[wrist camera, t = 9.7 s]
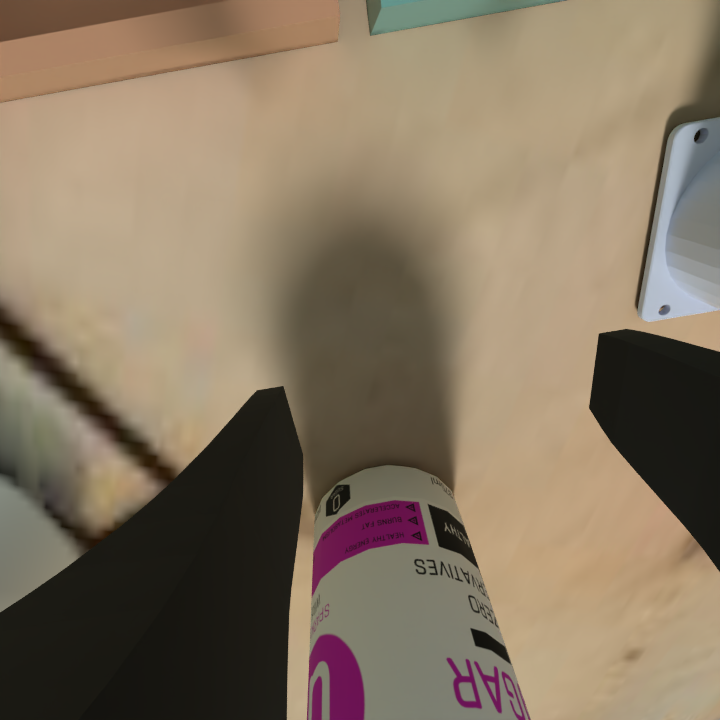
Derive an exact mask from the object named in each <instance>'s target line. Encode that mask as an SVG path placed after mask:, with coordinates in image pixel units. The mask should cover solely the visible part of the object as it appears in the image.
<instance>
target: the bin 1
mask: <svg viewBox="0 0 720 720" xmlns="http://www.w3.org/2000/svg"><path fill="white" fill-rule="evenodd" d="M339 21H340V12H339V5H338V0H0V103H1V102H6V101H12V100H17V99H23V98H29V97H34V96H40V95H45V94H51V93H56V92H62V91H67V90H73V89H78V88H84V87H89V86H95V85H100V84H106V83H111V82H117V81H123V80H128V79H134V78H139V77H145V76H150V75H156V74H161V73H167V72H172V71H178V70H183V69H189V68H194V67H200V66H206V65H211V64H217V63H222V62H228V61H233V60H239V59H244V58H250V57H255V56H261V55H266V54H272V53H277V52H283V51H289V50H294V49H300V48H305V47H311V46H316V45H322V44H327V43H333V42H338V33H339Z"/></svg>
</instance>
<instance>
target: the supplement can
mask: <svg viewBox="0 0 720 720" xmlns="http://www.w3.org/2000/svg"><path fill="white" fill-rule="evenodd" d="M307 720H531V719H530V716H529V713H528V710H527V707H526V704H525V701H524V699H523V696H522V693H521V690H520V687H519V684H518V681H517V678H516V675H515V672H514V669H513V667H512V664H511V661H510V658H509V655H508V652H507V649H506V646H505V643H504V640H503V637H502V635H501V632H500V629H499V626H498V623H497V620H496V617H495V614H494V611H493V608H492V605H491V603H490V600H489V597H488V594H487V591H486V588H485V585H484V582H483V579H482V576H481V573H480V571H479V568H478V565H477V562H476V559H475V556H474V553H473V550H472V547H471V544H470V541H469V539H468V536H467V533H466V530H465V527H464V524H463V521H462V518H461V515H460V512H459V509H458V507H457V504H456V501H455V498H454V496H453V493H452V491H451V490H450V489H449V488H448V487H447V486H446V485H445V484H444V483H443V482H442V481H441V480H440V479H439V478H438V477H436V476H434V475H431V474H429V473H426V472H424V471H421V470H419V469H416V468H411V467H405V466H393V465H384V466H378V467H373V468H367V469H364V470H362V471H360V472H357V473H355V474H353V475H351V476H349V477H347V478H345V479H343V480H341V481H339V482H338V483H337V484H336V485H335V486H334V487H333V488H332V489H331V490H330V491H329V492H328V493H327V494H326V495H325V496H324V497H323V498H322V500H321V502H320V505H319V507H318V509H317V512H316V514H315V525H314V551H313V577H312V603H311V629H310V655H309V681H308V707H307Z"/></svg>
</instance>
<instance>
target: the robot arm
mask: <svg viewBox="0 0 720 720" xmlns="http://www.w3.org/2000/svg"><path fill="white" fill-rule="evenodd" d="M698 130H700V136H699V138H698V140H697V141H696V142H694V136H695V134H696V132H697V131H698ZM663 305H664V308H663V309H662V310H661V311H659V309H660V308H661V307H662V306H663ZM717 310H720V117H716V118H711V119H705V120H699V121H693V122H688V123H683V124H680V125H678V126H677V127H676V128H674V129H673V131H672V132H671V133H670V135H669V138H668V141H667V147H666V152H665V158H664V164H663V169H662V175H661V181H660V186H659V192H658V198H657V203H656V209H655V215H654V220H653V226H652V232H651V237H650V243H649V248H648V254H647V260H646V265H645V271H644V277H643V282H642V288H641V294H640V299H639V305H638V311H637V312H638V316H639V317H640V318H641V319H643V320H645V321H649V322H651V321H657V320H663V319H669V318H675V317H681V316H687V315H693V314H699V313H705V312H711V311H717ZM589 409H590V410H591V412H592V413H593V415H594V417H595V418H596V420H597V422H598V423H599V425H600V426H601V428H602V429H603V431H604V432H605V434H606V435H607V437H608V438H609V440H610V441H611V443H612V444H613V445H614V446H615V448H616V449H617V450H618V451H619V452H620V454H621V455H622V456H623V457H624V458H625V459H626V460H627V462H628V463H629V464H630V465H631V466H632V467H633V469H634V470H635V471H636V472H637V473H638V474H639V475H640V476H641V478H642V479H643V480H644V481H645V482H646V483H647V484H648V485H649V487H650V488H651V489H652V490H653V491H654V492H655V493H656V495H657V496H658V497H659V498H660V499H661V500H662V501H663V502H664V504H665V505H666V506H667V507H668V508H669V509H670V510H671V511H672V513H673V514H674V515H675V516H676V517H677V518H678V519H679V520H680V522H681V523H682V524H683V525H684V526H685V527H686V528H687V530H688V531H689V532H690V533H691V535H692V536H693V537H694V538H695V539H696V541H697V542H698V543H699V544H700V546H701V547H702V548H703V549H704V551H705V552H706V553H707V555H708V556H709V558H710V559H711V560H712V562H713V563H714V565H715V566H716V567H717V569H718V570H719V571H720V352H718V351H714V350H711V349H707V348H703V347H700V346H696V345H692V344H689V343H685V342H681V341H678V340H674V339H670V338H666V337H662V336H658V335H654V334H650V333H646V332H641V331H635V330H629V329H624V330H618V331H612V332H606V333H600V334H599V337H598V345H597V352H596V360H595V367H594V375H593V383H592V390H591V398H590V405H589ZM302 499H303V453H302V449H301V446H300V442H299V439H298V436H297V432H296V429H295V425H294V422H293V418H292V415H291V411H290V408H289V404H288V401H287V397H286V394H285V390H284V387H283V386H281V387H275V388H269V389H263V390H257V391H256V392H255V393H254V394H253V395H252V396H251V397H250V398H249V400H248V401H247V402H246V403H245V404H244V405H243V406H242V407H241V409H240V410H239V411H238V412H237V413H236V414H235V416H234V417H233V418H232V419H231V420H230V421H229V422H228V424H227V425H226V426H225V427H224V428H223V429H222V430H221V431H220V432H219V434H218V435H217V436H216V437H215V438H214V439H213V440H212V441H211V443H210V444H209V445H208V446H207V447H206V448H205V449H204V450H203V451H202V452H201V453H200V454H199V455H198V456H197V457H196V458H195V459H194V460H193V461H192V462H191V463H190V464H189V465H188V466H187V467H186V468H185V469H184V470H183V471H182V472H181V473H180V474H179V475H178V476H177V477H176V478H175V479H174V480H173V481H172V482H171V483H170V484H169V485H168V486H167V487H166V488H165V489H164V490H163V491H161V492H160V493H159V494H158V495H157V496H156V497H155V498H154V499H153V500H151V501H150V502H149V503H148V504H147V505H146V506H144V507H143V508H142V509H141V510H140V511H139V512H137V513H136V514H135V515H134V516H133V517H132V518H130V519H129V520H128V521H127V522H125V523H124V524H123V525H122V526H121V527H119V528H118V529H117V530H115V531H114V532H113V533H111V534H110V535H109V536H108V537H106V538H105V539H104V540H102V541H101V542H100V543H98V544H97V545H96V546H94V547H93V548H92V549H90V550H89V551H88V552H86V553H85V554H84V555H82V556H81V557H80V558H78V559H77V560H76V561H74V562H73V563H72V564H71V565H69V566H68V567H67V568H65V569H64V570H62V571H61V572H60V573H58V574H57V575H55V576H54V577H52V578H51V579H49V580H48V581H47V582H45V583H44V584H42V585H41V586H40V587H38V588H37V589H35V590H34V591H32V592H31V593H29V594H28V595H26V596H25V597H23V598H22V599H20V600H19V601H17V602H16V603H14V604H13V605H11V606H10V607H8V608H6V609H5V610H4V611H2V612H0V720H287V666H288V634H289V609H290V597H291V587H292V579H293V571H294V563H295V556H296V548H297V540H298V532H299V524H300V516H301V508H302Z"/></svg>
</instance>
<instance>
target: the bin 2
mask: <svg viewBox="0 0 720 720" xmlns="http://www.w3.org/2000/svg"><path fill="white" fill-rule="evenodd" d="M560 1H565V0H366V3H367V12H368V21H369V29H370V36H372V35H377V34H383V33H388V32H394V31H399V30H405V29H410V28H416V27H421V26H427V25H432V24H438V23H443V22H449V21H455V20H460V19H466V18H471V17H477V16H482V15H488V14H493V13H499V12H504V11H510V10H515V9H521V8H526V7H532V6H537V5H543V4H549V3H554V2H560Z"/></svg>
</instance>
